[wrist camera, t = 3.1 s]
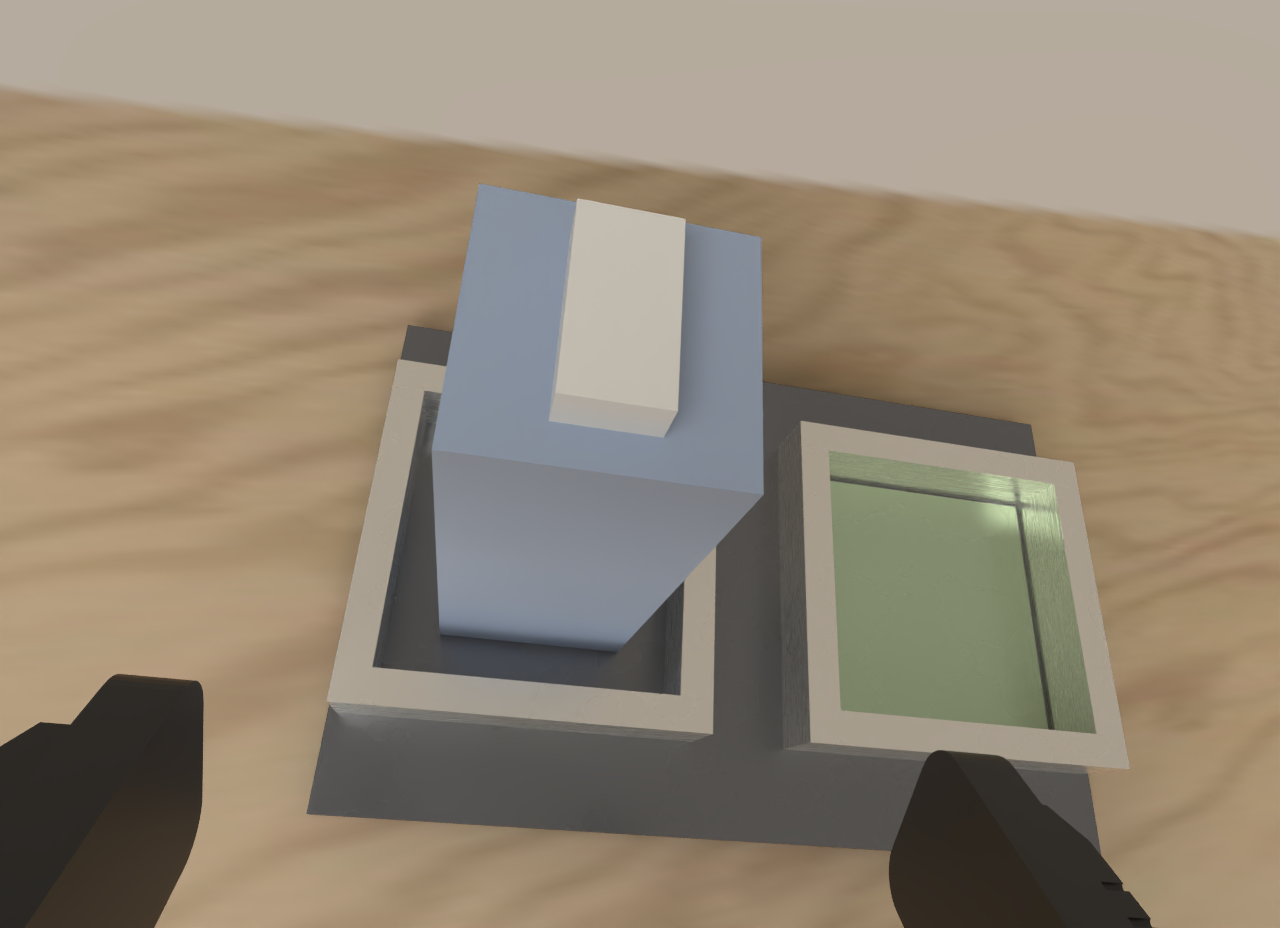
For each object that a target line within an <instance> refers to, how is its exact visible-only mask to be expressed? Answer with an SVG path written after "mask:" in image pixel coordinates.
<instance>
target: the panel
mask: <svg viewBox="0 0 1280 928" xmlns="http://www.w3.org/2000/svg"><path fill="white" fill-rule="evenodd" d="M452 333H453V332H448V331H442V330H436V329H429V328H423V327H417V326H411V325H408V327H407V332H406V337H405V342H404V347H403V352H402V356H401V359H398V362H397V367H396V372H395V376H394V381H393V386H392V391H391V395H390V400H389V405H388V410H387V415H386V419H385V424H384V429H383V434H382V438H381V443H380V448H379V453H378V458H377V462H376V467H375V472H374V477H373V482H372V486H371V491H370V496H369V501H368V505H367V510H366V515H365V520H364V525H363V529H362V534H361V539H360V544H359V548H358V553H357V558H356V563H355V568H354V572H353V577H352V582H351V587H350V592H349V596H348V601H347V606H346V611H345V615H344V620H343V625H342V630H341V635H340V639H339V644H338V649H337V654H336V659H335V663H334V668H333V673H332V678H331V682H330V687H329V692H328V697H327V702H328V703H329V708H328V713H327V718H326V723H325V728H324V733H323V737H322V742H321V747H320V752H319V757H318V762H317V766H316V771H315V776H314V781H313V786H312V790H311V795H310V800H309V805H308V810H307V814H310V815H326V816H341V817H357V818H373V819H389V820H405V821H421V822H437V823H453V824H469V825H485V826H501V827H517V828H533V829H549V830H565V831H581V832H597V833H613V834H629V835H645V836H661V837H677V838H693V839H709V840H725V841H741V842H757V843H773V844H789V845H805V846H821V847H837V848H853V849H869V850H884V851H892V847H893V844H894V842H895V839H896V837H897V834H898V831H899V829H900V826H901V823H902V821H903V818H904V815H905V813H906V810H907V807H908V805H909V802H910V799H911V797H912V794H913V791H914V789H915V786H916V783H917V781H918V778H919V776H920V773H921V770H922V768H923V765H924V763H925V761H926V759H927V758H928V756H929V755H930V754H931V753H933V752H934V751H937V750H946V751H957V752H968V753H979V754H991V755H999V756H1001V757H1004V758H1005V759H1006V760H1008V761H1009V762H1010V763H1011V764H1012V765H1013V767H1014V768H1015V769H1016V771H1017V772H1018V773H1019V775H1020V776H1021V777H1022V779H1023V780H1024V781H1025V783H1026V784H1027V785H1028V786H1029V788H1030V789H1031V790H1032V792H1033V793H1034V794H1035V796H1036V797H1037V798H1038V800H1039V801H1040V802H1041V804H1042V805H1047V806H1048V807H1049V808H1051V809H1052V810H1053V811H1054V812H1055V813H1057V814H1058V815H1059V816H1060V817H1061V818H1063V819H1064V820H1065V821H1066V822H1067V823H1069V824H1070V825H1071V826H1072V827H1073V828H1075V829H1076V830H1077V831H1078V832H1079V833H1081V834H1082V835H1083V836H1084V837H1085V838H1087V839H1088V840H1089V841H1090V842H1091V843H1092V845H1093V846H1094V847H1095V848H1096V850H1097V851H1098V852H1099V854H1100V855H1101V851H1100V845H1099V839H1098V833H1097V827H1096V821H1095V815H1094V809H1093V803H1092V796H1091V790H1090V784H1089V778H1088V773H1098V772H1108V771H1119V770H1129V769H1130V766H1129V761H1128V755H1127V750H1126V744H1125V739H1124V733H1123V728H1122V723H1121V717H1120V712H1119V706H1118V701H1117V695H1116V690H1115V685H1114V679H1113V674H1112V668H1111V663H1110V657H1109V652H1108V647H1107V641H1106V636H1105V630H1104V625H1103V619H1102V614H1101V609H1100V603H1099V598H1098V592H1097V587H1096V581H1095V576H1094V571H1093V565H1092V560H1091V554H1090V549H1089V543H1088V538H1087V533H1086V527H1085V522H1084V516H1083V511H1082V505H1081V500H1080V494H1079V489H1078V484H1077V478H1076V473H1075V467H1074V463H1073V462H1067V461H1060V460H1054V459H1047V458H1041V457H1036V454H1035V448H1034V441H1033V435H1032V429H1031V425H1028V424H1022V423H1016V422H1010V421H1003V420H997V419H991V418H985V417H978V416H972V415H966V414H960V413H953V412H947V411H941V410H935V409H929V408H922V407H916V406H910V405H904V404H897V403H891V402H885V401H879V400H872V399H866V398H860V397H854V396H847V395H841V394H835V393H829V392H822V391H816V390H810V389H804V388H797V387H791V386H785V385H779V384H773V383H766V382H763V484H764V495H763V496H762V497H761V498H760V499H759V500H758V501H757V502H756V503H755V504H754V506H753V507H752V508H751V509H750V510H749V511H748V512H747V513H746V514H745V515H744V516H743V517H742V518H741V520H740V521H739V522H738V523H737V524H736V525H735V526H734V527H733V528H732V529H731V530H730V531H729V532H728V534H727V535H726V536H725V537H724V538H723V539H722V540H721V541H720V542H719V543H718V544H717V545H716V547H715V548H714V549H713V550H712V551H711V552H710V553H709V554H708V555H707V556H706V557H705V558H704V559H703V561H702V562H701V563H700V564H699V565H698V566H697V567H696V568H695V569H694V570H693V571H692V572H691V573H690V575H689V576H688V577H687V578H686V579H685V580H684V581H683V582H682V583H681V584H680V585H679V586H678V587H677V589H676V590H675V591H674V592H673V593H672V594H671V595H670V596H669V597H668V598H667V599H666V600H665V601H664V603H663V604H662V605H661V606H660V607H659V608H658V609H657V610H656V611H655V612H654V613H653V614H652V616H651V617H650V618H649V619H648V620H647V621H646V622H645V623H644V624H643V625H642V626H641V627H640V628H639V630H638V631H637V632H636V633H635V634H634V635H633V636H632V637H631V638H630V639H629V640H628V641H627V642H626V644H625V645H624V646H623V647H622V648H621V649H620V650H619V651H618V652H612V651H602V650H592V649H582V648H572V647H562V646H552V645H542V644H532V643H522V642H512V641H502V640H492V639H482V638H472V637H462V636H452V635H442V634H440V629H439V606H438V583H437V560H436V537H435V514H434V491H433V468H432V445H433V439H434V434H435V428H436V422H437V417H438V411H439V406H440V400H441V395H442V389H443V383H444V378H445V372H446V367H447V361H448V355H449V350H450V344H451V339H452Z"/></svg>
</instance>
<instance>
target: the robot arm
mask: <svg viewBox="0 0 1280 928" xmlns="http://www.w3.org/2000/svg"><path fill="white" fill-rule="evenodd" d="M202 779H203V690H202V687H201V684H200V683H199V682H198V681H192V680H181V679H170V678H158V677H147V676H136V675H125V674H117V675H114V676H112V677H111V678H110V679H108V680H107V682H106V683H105V684H104V685H103V686H102V687H101V688H100V690H99V691H98V692H97V693H96V694H95V696H94V697H93V698H92V699H91V701H90V702H89V703H88V704H87V705H86V707H85V708H84V709H83V710H82V711H81V713H80V714H79V715H78V716H77V717H76V719H75V720H74V721H73V722H72V724H71V725H68V724H55V723H43V722H40V723H38V724H37V725H35V726H33V727H32V728H30V729H28V730H27V731H25V732H24V733H22V734H20V735H19V736H17V737H15V738H14V739H12V740H10V741H9V742H7V743H5V744H4V745H2V746H0V928H154V927H155V925H156V923H157V921H158V919H159V917H160V915H161V913H162V911H163V909H164V907H165V905H166V903H167V901H168V899H169V897H170V895H171V893H172V891H173V889H174V887H175V885H176V883H177V881H178V879H179V877H180V875H181V873H182V871H183V869H184V867H185V865H186V863H187V860H188V858H189V855H190V852H191V849H192V847H193V843H194V840H195V837H196V833H197V829H198V824H199V820H200V814H201V807H202ZM889 882H890V889H891V894H892V899H893V902H894V905H895V908H896V911H897V913H898V915H899V917H900V920H901V922H902V924H903V926H904V928H1152V926H1151V924H1150V917H1149V916H1148V915H1147V914H1146V912H1145V911H1144V910H1143V908H1142V907H1141V906H1140V905H1139V903H1138V902H1137V901H1136V899H1135V898H1134V897H1133V896H1132V894H1131V893H1130V892H1127V891H1124V890H1123V888H1122V884H1123V883H1122V882H1121V880H1120V879H1119V878H1118V876H1117V875H1116V874H1115V873H1114V871H1113V870H1112V869H1111V868H1110V866H1109V865H1108V864H1107V862H1106V861H1105V860H1104V859H1103V857H1102V856H1101V855H1100V854H1099V852H1098V851H1097V850H1096V848H1095V847H1094V846H1093V845H1092V843H1091V842H1090V841H1089V840H1088V839H1087V838H1085V837H1084V836H1083V835H1082V834H1081V833H1079V832H1078V831H1077V830H1076V829H1075V828H1073V827H1072V826H1071V825H1070V824H1069V823H1067V822H1066V821H1065V820H1064V819H1063V818H1061V817H1060V816H1059V815H1058V814H1057V813H1055V812H1054V811H1053V810H1052V809H1051V808H1049V807H1048V806H1047V805H1042V804H1041V802H1040V801H1039V800H1038V798H1037V797H1036V796H1035V794H1034V793H1033V792H1032V790H1031V789H1030V788H1029V786H1028V785H1027V784H1026V783H1025V781H1024V780H1023V779H1022V777H1021V776H1020V775H1019V773H1018V772H1017V771H1016V769H1015V768H1014V767H1013V765H1012V764H1011V763H1010V762H1009V761H1008V760H1006V759H1005V758H1004V757H1001V756H999V755H991V754H979V753H968V752H957V751H946V750H937V751H934V752H933V753H931V754H930V755H929V756H928V758H927V759H926V761H925V763H924V765H923V768H922V770H921V773H920V776H919V778H918V781H917V783H916V786H915V789H914V791H913V794H912V797H911V799H910V802H909V805H908V807H907V810H906V813H905V815H904V818H903V821H902V823H901V826H900V829H899V831H898V834H897V837H896V839H895V842H894V844H893V847H892V851H891V855H890V862H889Z"/></svg>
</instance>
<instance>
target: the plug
mask: <svg viewBox="0 0 1280 928" xmlns="http://www.w3.org/2000/svg"><path fill="white" fill-rule="evenodd" d="M432 468H433V491H434V514H435V537H436V560H437V583H438V606H439V629H440V634H442V635H452V636H462V637H472V638H482V639H492V640H502V641H512V642H522V643H532V644H542V645H552V646H562V647H572V648H582V649H592V650H602V651H612V652H618V651H619V650H620V649H621V648H622V647H623V646H624V645H625V644H626V642H627V641H628V640H629V639H630V638H631V637H632V636H633V635H634V634H635V633H636V632H637V631H638V630H639V628H640V627H641V626H642V625H643V624H644V623H645V622H646V621H647V620H648V619H649V618H650V617H651V616H652V614H653V613H654V612H655V611H656V610H657V609H658V608H659V607H660V606H661V605H662V604H663V603H664V601H665V600H666V599H667V598H668V597H669V596H670V595H671V594H672V593H673V592H674V591H675V590H676V589H677V587H678V586H679V585H680V584H681V583H682V582H683V581H684V580H685V579H686V578H687V577H688V576H689V575H690V573H691V572H692V571H693V570H694V569H695V568H696V567H697V566H698V565H699V564H700V563H701V562H702V561H703V559H704V558H705V557H706V556H707V555H708V554H709V553H710V552H711V551H712V550H713V549H714V548H715V547H716V545H717V544H718V543H719V542H720V541H721V540H722V539H723V538H724V537H725V536H726V535H727V534H728V532H729V531H730V530H731V529H732V528H733V527H734V526H735V525H736V524H737V523H738V522H739V521H740V520H741V518H742V517H743V516H744V515H745V514H746V513H747V512H748V511H749V510H750V509H751V508H752V507H753V506H754V504H755V503H756V502H757V501H758V500H759V499H760V498H761V497H762V496H763V495H764V484H763V374H762V264H761V237H757V236H752V235H747V234H742V233H736V232H731V231H726V230H721V229H715V228H710V227H705V226H700V225H695V224H689V223H686V219H683V218H678V217H673V216H668V215H663V214H657V213H652V212H647V211H642V210H636V209H631V208H626V207H621V206H616V205H610V204H605V203H600V202H595V201H590V200H584V199H579V198H577V202H574V201H569V200H564V199H558V198H553V197H548V196H543V195H537V194H532V193H527V192H522V191H516V190H511V189H506V188H501V187H495V186H490V185H485V184H480V183H479V188H478V194H477V199H476V205H475V210H474V216H473V222H472V227H471V233H470V238H469V244H468V249H467V255H466V261H465V266H464V272H463V277H462V283H461V289H460V294H459V300H458V305H457V311H456V316H455V322H454V328H453V333H452V339H451V344H450V350H449V355H448V361H447V367H446V372H445V378H444V383H443V389H442V395H441V400H440V406H439V411H438V417H437V422H436V428H435V434H434V439H433V445H432Z"/></svg>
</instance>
